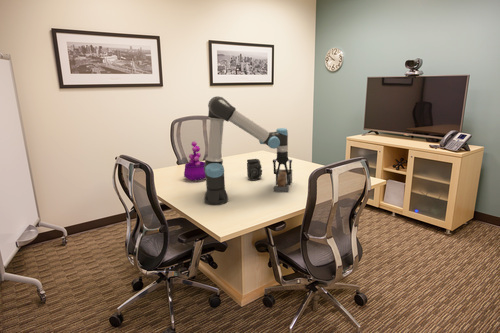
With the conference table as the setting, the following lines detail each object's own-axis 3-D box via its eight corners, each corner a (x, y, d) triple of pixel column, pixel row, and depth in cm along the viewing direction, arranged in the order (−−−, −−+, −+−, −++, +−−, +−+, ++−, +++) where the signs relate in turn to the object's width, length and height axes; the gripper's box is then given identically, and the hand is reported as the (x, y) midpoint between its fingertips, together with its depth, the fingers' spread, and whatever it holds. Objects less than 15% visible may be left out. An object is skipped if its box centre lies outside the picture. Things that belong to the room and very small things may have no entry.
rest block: (273, 191, 224) (273, 186, 223) (274, 189, 228) (274, 184, 227) (288, 192, 222) (288, 187, 221) (288, 190, 226) (288, 184, 225)
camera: (263, 180, 249) (262, 161, 245) (249, 181, 247) (248, 162, 243) (260, 176, 259) (259, 157, 255) (247, 177, 257) (246, 158, 253)
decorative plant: (190, 175, 267) (187, 138, 259) (211, 176, 263) (209, 139, 255) (180, 182, 249) (177, 143, 241) (204, 183, 246) (201, 144, 238)
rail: (277, 186, 224) (277, 178, 223) (281, 179, 239) (281, 171, 238) (284, 187, 223) (284, 178, 222) (287, 180, 238) (287, 172, 236)
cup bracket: (274, 184, 238) (274, 171, 235) (275, 182, 244) (275, 169, 241) (291, 185, 236) (291, 171, 233) (292, 182, 241) (292, 169, 239)
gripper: (268, 152, 223) (269, 184, 229) (294, 152, 220) (294, 185, 226) (270, 149, 230) (270, 181, 236) (295, 149, 227) (295, 182, 233)
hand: (282, 183), depth 231 cm, fingers closed on rail, 5 cm apart
